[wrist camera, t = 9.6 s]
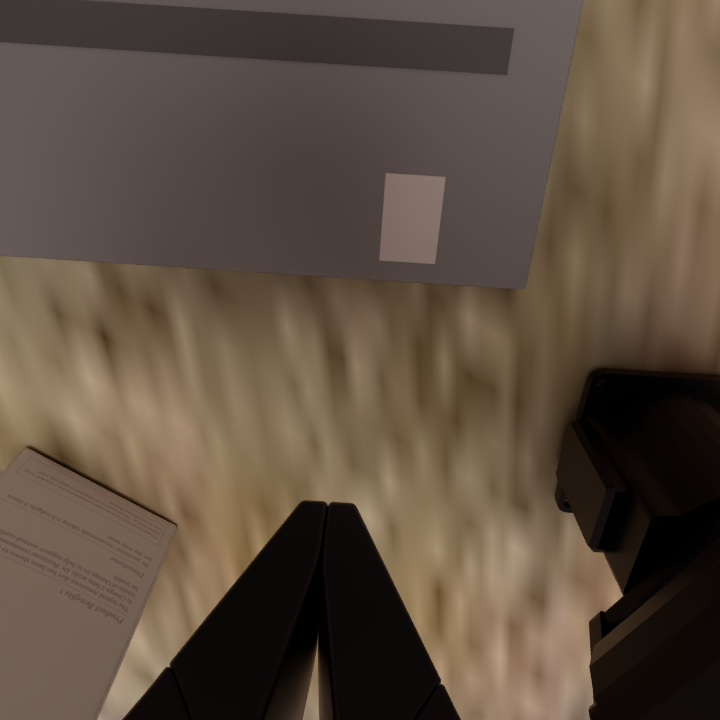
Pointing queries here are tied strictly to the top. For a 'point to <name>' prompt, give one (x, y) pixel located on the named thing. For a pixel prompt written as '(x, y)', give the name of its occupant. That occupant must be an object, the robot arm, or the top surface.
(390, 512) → the top surface
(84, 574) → the supplement box
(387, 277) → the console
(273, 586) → the robot arm
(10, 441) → the top surface
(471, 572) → the top surface
